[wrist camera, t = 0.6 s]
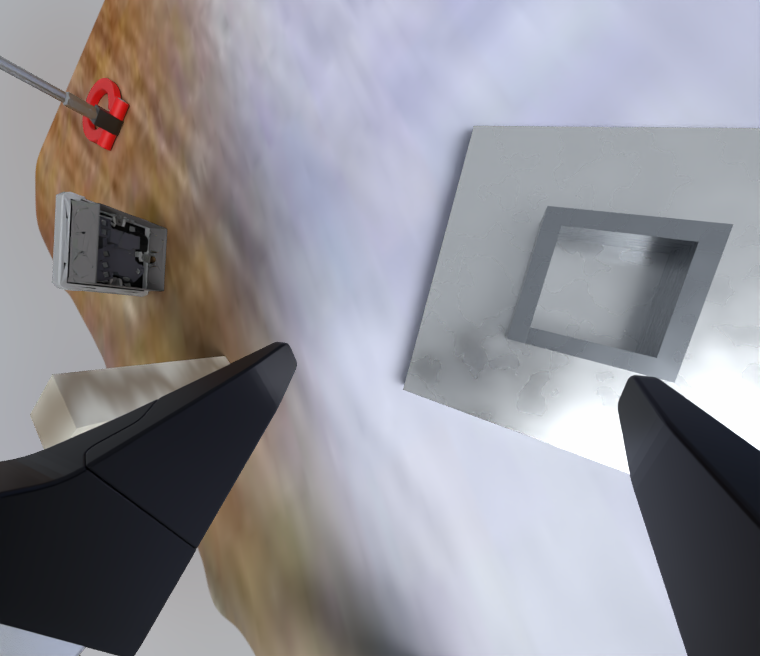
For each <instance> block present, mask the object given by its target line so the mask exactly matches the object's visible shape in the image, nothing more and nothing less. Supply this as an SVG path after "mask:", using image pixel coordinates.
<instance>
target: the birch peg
mask: <svg viewBox="0 0 760 656" xmlns="http://www.w3.org/2000/svg"><path fill="white" fill-rule="evenodd" d="M229 364H230V363H229V361H228V360H227V358H226V357H225V356H220V357H211V358H202V359H192V360H183V361H174V362H164V363H155V364H146V365H136V366H127V367H117V368H108V369H99V370H90V371H80V372H71V373H61V374H52V376H51V378H50V379H49V381H48V383H47V385H46V387H45V389H44V390H43V392H42V394H41V396H40V398H39V400H38V401H37V403H36V405H35V407H34V409H33V410H32V412H31V414H30V416H31V418H32V421H33V423H34V426H35V428H36V431H37V433H38V435H39V438H40V441H41V443H42V445H43V448H44V449H47V448H49V447H51V446H54V445H56V444H58V443H61V442H63V441H65V440H67V439H70V438H72V437H74V436H77V435H79V434H81V433H84V432H86V431H88V430H91V429H93V428H95V427H97V426H100V425H102V424H104V423H106V422H109V421H111V420H113V419H115V418H118V417H120V416H122V415H124V414H126V413H129V412H131V411H133V410H135V409H137V408H139V407H141V406H144V405H146V404H148V403H150V402H152V401H154V400H156V399H159V398H160V397H162V396H164V395H167V394H169V393H171V392H173V391H175V390H177V389H179V388H181V387H183V386H185V385H187V384H189V383H191V382H194V381H196V380H198V379H200V378H202V377H204V376H206V375H208V374H210V373H212V372H214V371H216V370H218V369H221V368H223V367H225V366H227V365H229Z"/></svg>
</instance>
